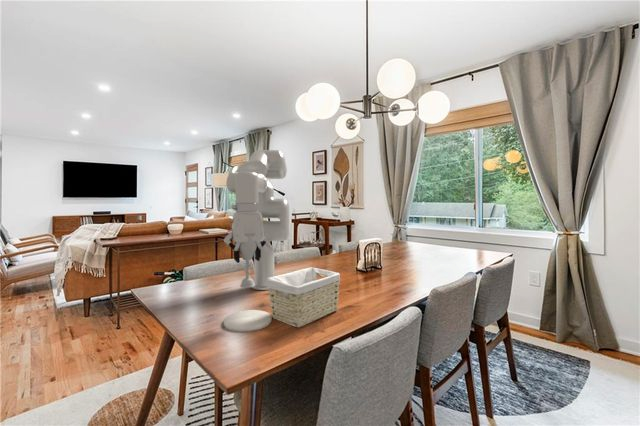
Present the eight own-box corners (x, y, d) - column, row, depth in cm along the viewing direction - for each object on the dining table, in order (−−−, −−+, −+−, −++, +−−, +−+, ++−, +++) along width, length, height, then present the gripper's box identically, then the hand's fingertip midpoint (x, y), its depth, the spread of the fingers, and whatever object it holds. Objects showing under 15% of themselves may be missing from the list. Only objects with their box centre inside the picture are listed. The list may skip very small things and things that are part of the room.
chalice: (259, 282, 110) (259, 232, 109) (257, 288, 103) (257, 234, 102) (238, 282, 109) (238, 232, 108) (234, 288, 102) (234, 234, 101)
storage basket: (296, 331, 99) (296, 286, 99) (265, 318, 110) (264, 277, 109) (341, 311, 117) (342, 272, 117) (310, 301, 128) (310, 266, 127)
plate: (263, 310, 117) (263, 307, 117) (278, 325, 103) (278, 322, 103) (219, 317, 110) (219, 314, 110) (229, 335, 96) (229, 332, 96)
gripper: (223, 209, 97) (223, 265, 98) (275, 208, 105) (275, 260, 106) (218, 208, 104) (219, 261, 105) (268, 207, 112) (268, 257, 113)
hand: (247, 260), depth 105 cm, fingers closed on chalice, 6 cm apart
